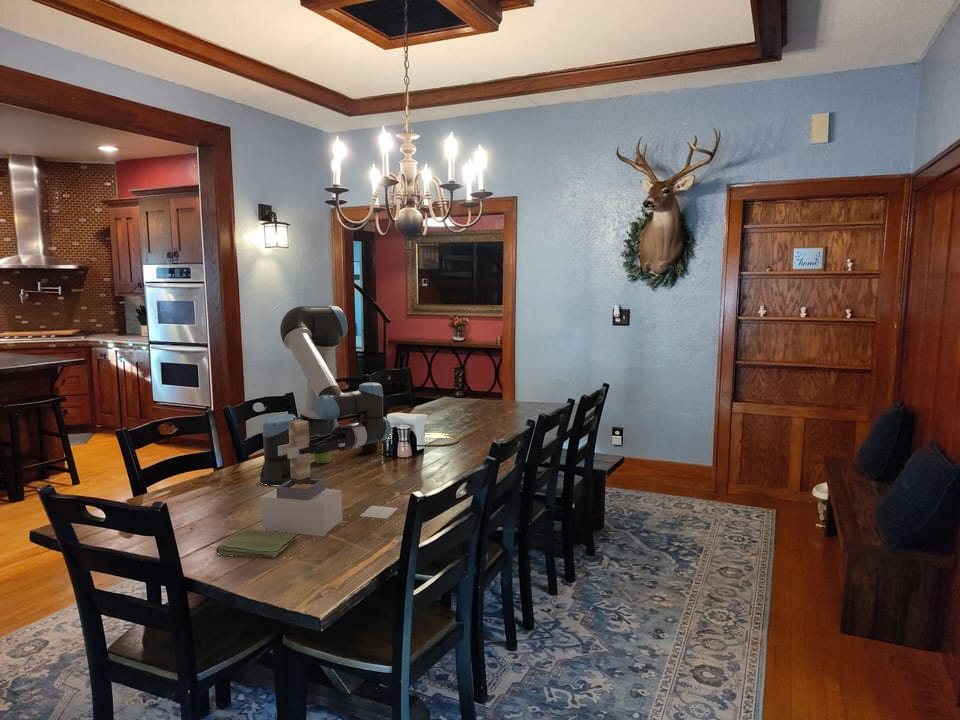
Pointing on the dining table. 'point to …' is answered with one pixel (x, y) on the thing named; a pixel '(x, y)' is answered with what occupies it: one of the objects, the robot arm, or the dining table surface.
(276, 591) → the dining table surface
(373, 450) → the coffee mug
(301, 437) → the beige tall cylinder
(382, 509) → the white paper sheet
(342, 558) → the dining table surface
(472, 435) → the dining table surface
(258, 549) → the washcloth
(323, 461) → the plant pot
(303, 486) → the button
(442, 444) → the serving platter
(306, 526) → the switch box
